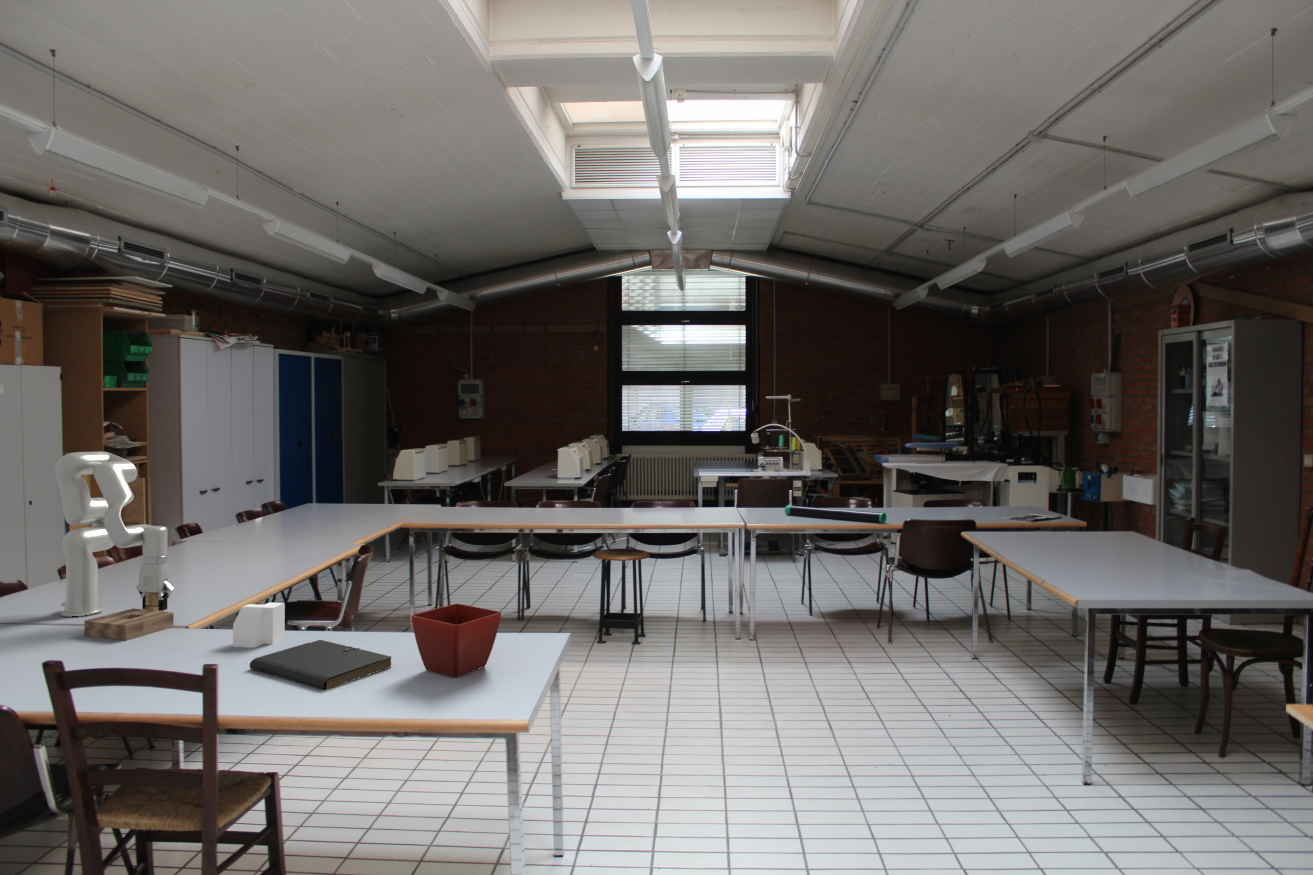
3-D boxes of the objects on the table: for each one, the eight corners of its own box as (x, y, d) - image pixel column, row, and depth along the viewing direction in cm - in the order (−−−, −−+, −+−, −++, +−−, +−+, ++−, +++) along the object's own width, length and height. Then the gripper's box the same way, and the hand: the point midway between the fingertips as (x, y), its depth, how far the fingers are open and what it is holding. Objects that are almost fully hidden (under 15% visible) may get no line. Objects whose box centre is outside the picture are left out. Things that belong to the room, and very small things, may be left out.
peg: (145, 619, 283) (145, 592, 282) (155, 617, 286) (155, 590, 286) (154, 620, 281) (154, 593, 281) (164, 618, 285) (164, 590, 285)
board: (84, 635, 262) (84, 620, 262) (133, 622, 279) (133, 608, 279) (126, 640, 257) (126, 625, 257) (173, 626, 274) (173, 612, 274)
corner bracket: (284, 638, 262) (284, 602, 262) (264, 648, 251) (264, 611, 251) (254, 637, 263) (254, 601, 263) (233, 646, 252) (233, 609, 252)
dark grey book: (392, 655, 234) (323, 678, 213) (392, 668, 234) (323, 693, 213) (320, 638, 251) (249, 658, 230) (320, 650, 251) (249, 672, 230)
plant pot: (502, 666, 237) (502, 611, 236) (456, 684, 220) (457, 624, 220) (456, 655, 246) (456, 602, 246) (409, 672, 230) (409, 615, 230)
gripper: (126, 560, 282) (126, 609, 283) (164, 563, 278) (164, 613, 278) (145, 557, 289) (145, 605, 290) (182, 560, 285) (182, 608, 285)
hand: (154, 608), depth 284 cm, fingers open, 6 cm apart
